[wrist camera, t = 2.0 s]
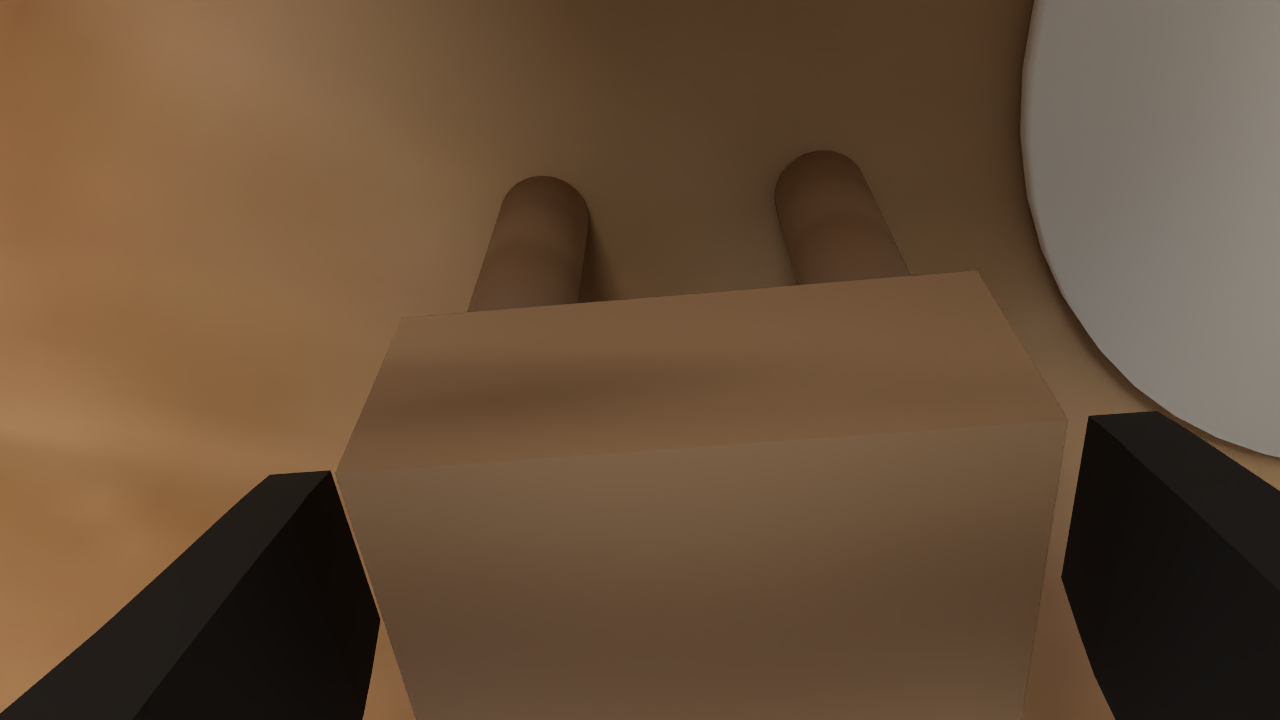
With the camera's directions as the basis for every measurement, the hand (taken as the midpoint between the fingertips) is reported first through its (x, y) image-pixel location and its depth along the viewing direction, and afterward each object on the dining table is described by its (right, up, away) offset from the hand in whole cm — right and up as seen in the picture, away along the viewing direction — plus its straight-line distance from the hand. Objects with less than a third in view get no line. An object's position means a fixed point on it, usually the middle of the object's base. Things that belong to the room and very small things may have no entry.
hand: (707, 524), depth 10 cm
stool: (0, +2, +3) cm, 4 cm away
